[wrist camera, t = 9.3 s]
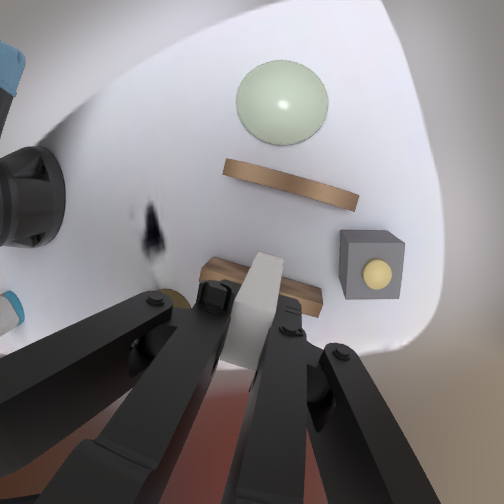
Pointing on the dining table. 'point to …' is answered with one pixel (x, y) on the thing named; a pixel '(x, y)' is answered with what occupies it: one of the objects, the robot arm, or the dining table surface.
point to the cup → (10, 312)
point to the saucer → (282, 102)
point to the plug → (370, 264)
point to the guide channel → (290, 183)
